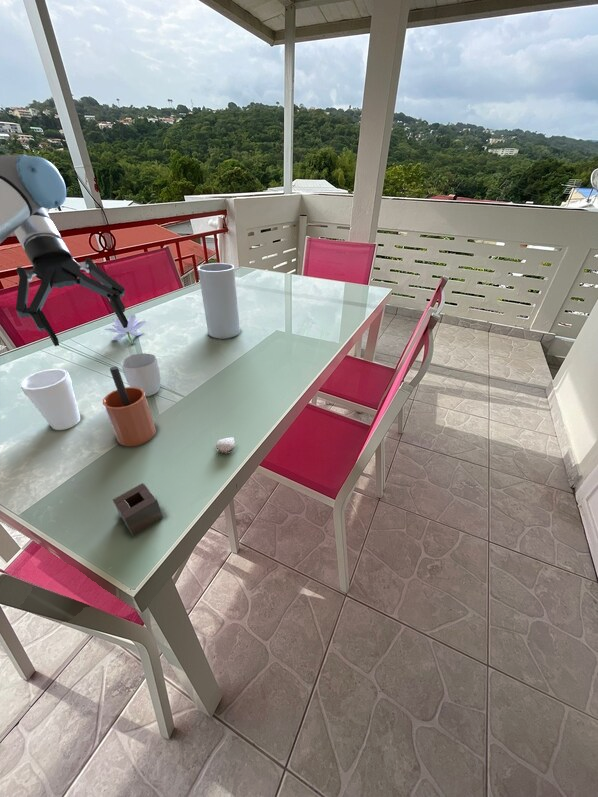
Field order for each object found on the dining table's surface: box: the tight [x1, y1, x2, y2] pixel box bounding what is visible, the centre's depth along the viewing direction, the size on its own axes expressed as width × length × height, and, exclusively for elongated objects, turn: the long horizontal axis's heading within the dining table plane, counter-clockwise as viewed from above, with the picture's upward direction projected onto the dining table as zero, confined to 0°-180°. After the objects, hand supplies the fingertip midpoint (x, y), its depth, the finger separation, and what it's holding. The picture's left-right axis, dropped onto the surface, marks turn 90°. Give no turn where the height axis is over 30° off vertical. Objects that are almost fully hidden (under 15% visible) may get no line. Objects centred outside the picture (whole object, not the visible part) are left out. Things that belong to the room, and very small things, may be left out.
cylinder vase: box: [197, 262, 241, 340], centre depth 124 cm, size 12×12×25 cm
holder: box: [112, 482, 164, 537], centre depth 60 cm, size 6×6×5 cm
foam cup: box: [19, 368, 81, 431], centre depth 80 cm, size 10×9×13 cm
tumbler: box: [102, 386, 157, 447], centre depth 77 cm, size 9×9×11 cm
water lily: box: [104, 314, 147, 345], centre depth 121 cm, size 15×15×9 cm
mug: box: [120, 352, 162, 397], centre depth 95 cm, size 13×9×10 cm
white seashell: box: [215, 437, 236, 454], centre depth 76 cm, size 4×5×2 cm
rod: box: [109, 365, 131, 407], centre depth 75 cm, size 2×2×18 cm
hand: (93, 333), depth 69 cm, fingers open, 13 cm apart
